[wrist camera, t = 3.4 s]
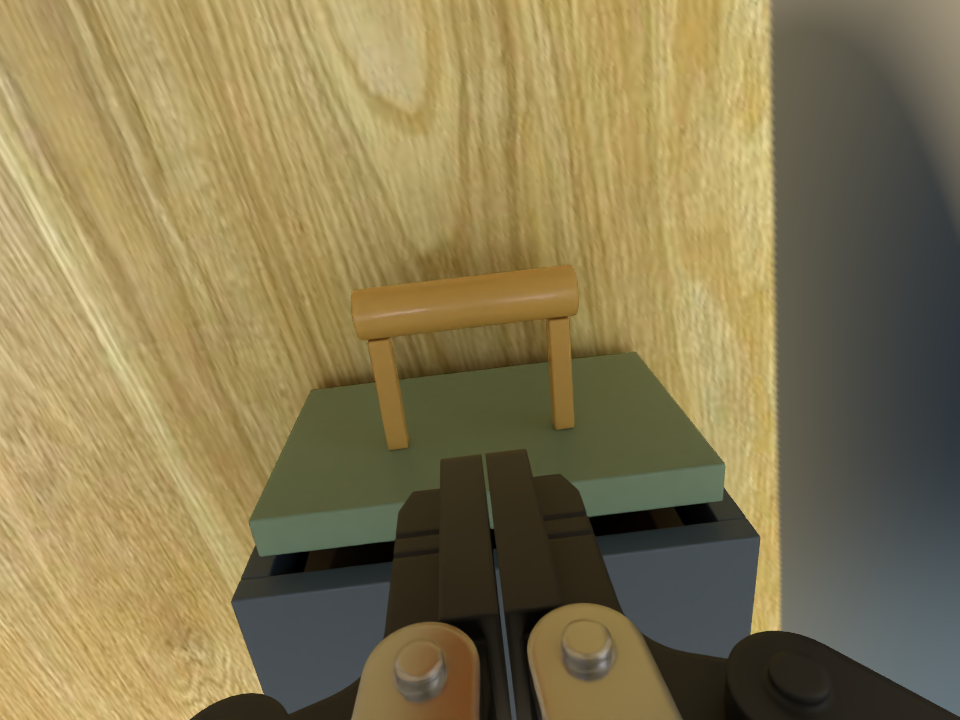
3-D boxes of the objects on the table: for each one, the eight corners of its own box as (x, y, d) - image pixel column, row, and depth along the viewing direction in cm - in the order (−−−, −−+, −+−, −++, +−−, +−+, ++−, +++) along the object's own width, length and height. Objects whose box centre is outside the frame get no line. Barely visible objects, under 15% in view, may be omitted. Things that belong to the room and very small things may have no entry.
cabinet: (309, 419, 24) (229, 602, 15) (644, 379, 24) (761, 536, 15) (372, 674, 30) (342, 916, 21) (642, 641, 30) (727, 866, 21)
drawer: (279, 262, 20) (190, 344, 13) (636, 220, 20) (740, 279, 13) (373, 647, 28) (348, 837, 20) (636, 615, 28) (703, 792, 21)
